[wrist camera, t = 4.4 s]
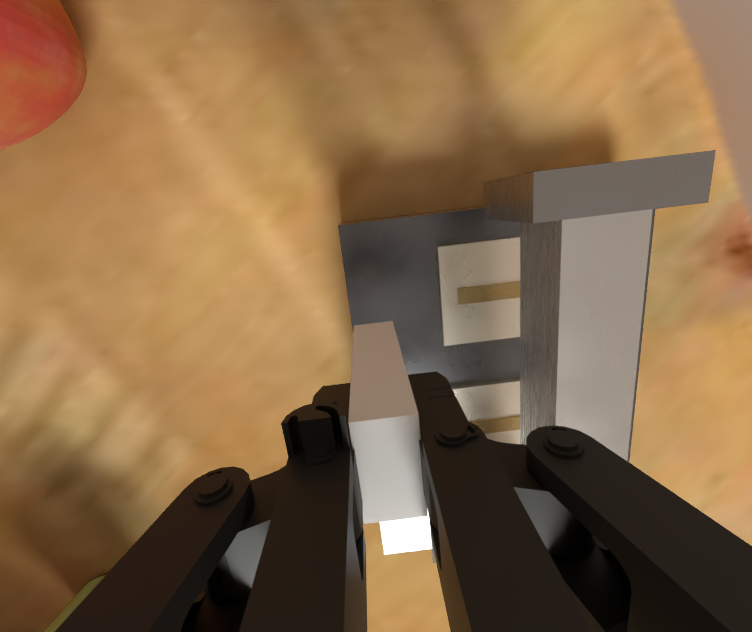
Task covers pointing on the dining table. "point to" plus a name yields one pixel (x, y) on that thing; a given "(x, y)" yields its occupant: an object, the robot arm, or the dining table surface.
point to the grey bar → (588, 283)
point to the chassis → (447, 315)
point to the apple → (36, 67)
